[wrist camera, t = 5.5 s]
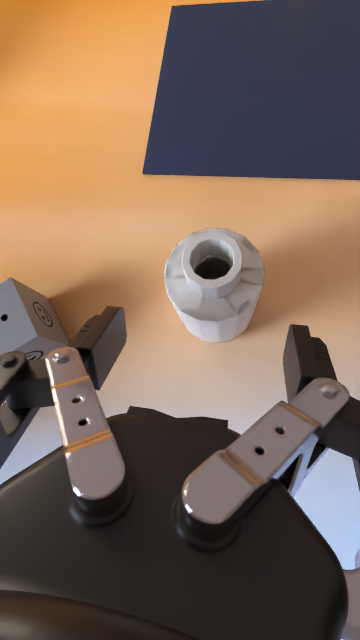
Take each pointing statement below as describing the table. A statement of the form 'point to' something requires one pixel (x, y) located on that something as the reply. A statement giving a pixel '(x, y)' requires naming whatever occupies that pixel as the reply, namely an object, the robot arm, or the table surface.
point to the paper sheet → (259, 91)
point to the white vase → (214, 283)
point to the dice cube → (28, 322)
